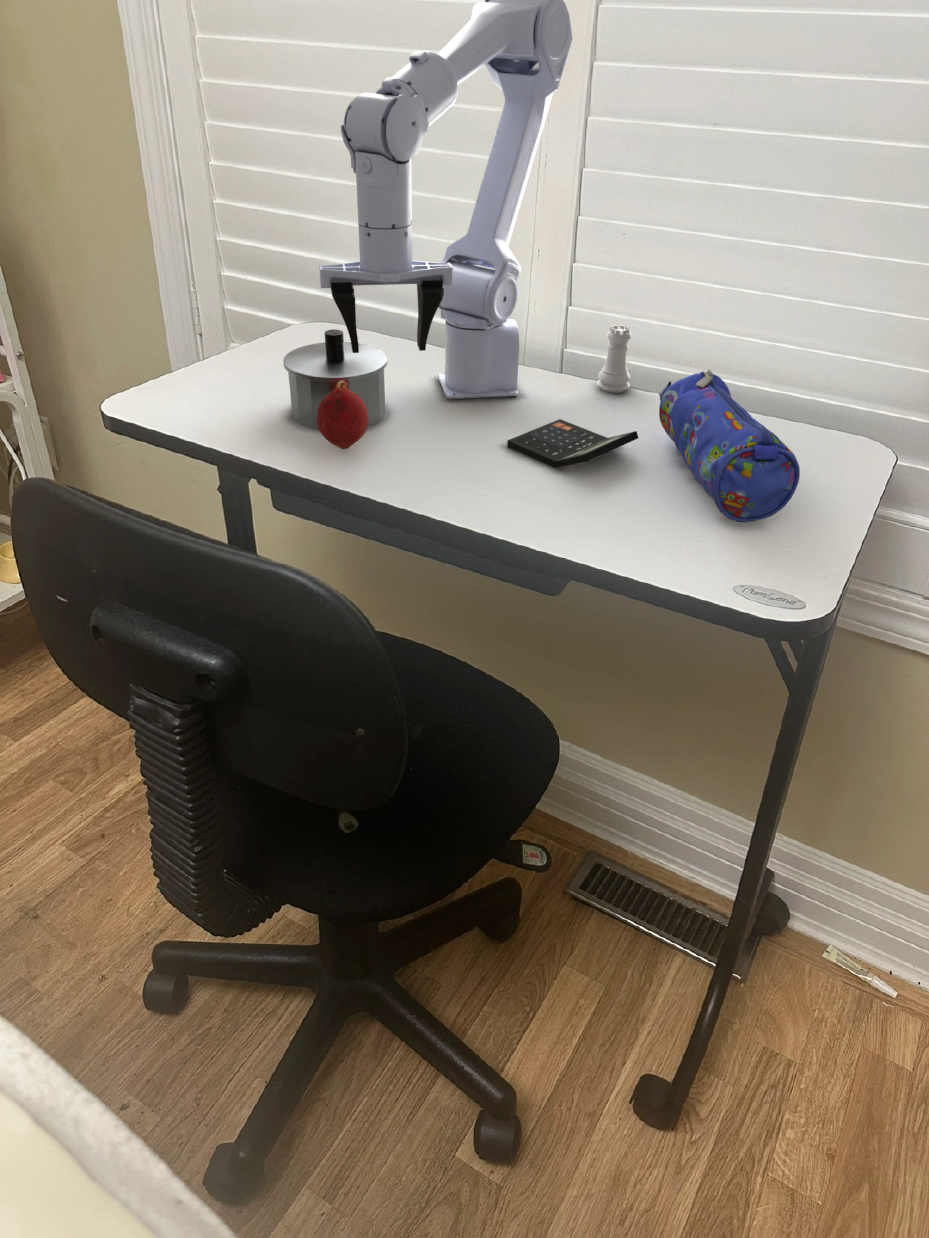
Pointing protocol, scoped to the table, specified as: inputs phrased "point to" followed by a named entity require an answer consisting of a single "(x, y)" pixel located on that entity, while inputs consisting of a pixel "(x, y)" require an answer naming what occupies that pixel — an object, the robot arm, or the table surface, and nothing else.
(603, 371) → the rook chess piece
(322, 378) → the pot lid
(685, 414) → the pencil case
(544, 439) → the calculator
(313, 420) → the pot
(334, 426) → the red oval fruit
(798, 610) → the table surface
